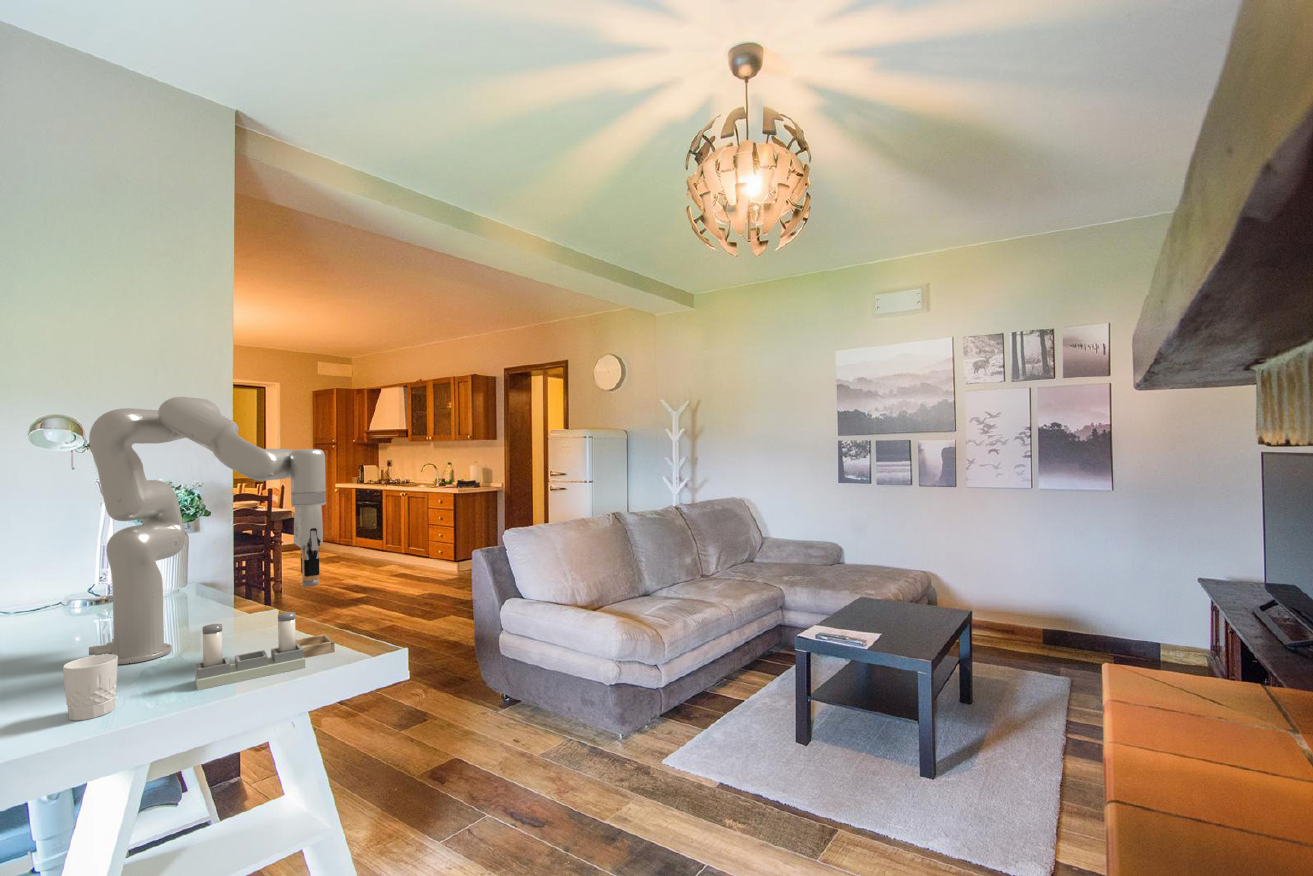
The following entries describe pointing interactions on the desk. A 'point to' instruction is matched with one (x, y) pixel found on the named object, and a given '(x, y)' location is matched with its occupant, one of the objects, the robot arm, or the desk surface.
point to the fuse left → (212, 645)
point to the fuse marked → (310, 579)
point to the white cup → (90, 686)
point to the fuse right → (286, 632)
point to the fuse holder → (249, 667)
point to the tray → (316, 645)
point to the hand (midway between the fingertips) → (310, 573)
